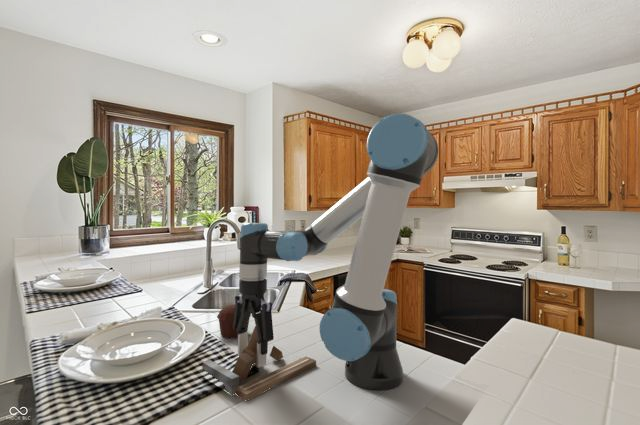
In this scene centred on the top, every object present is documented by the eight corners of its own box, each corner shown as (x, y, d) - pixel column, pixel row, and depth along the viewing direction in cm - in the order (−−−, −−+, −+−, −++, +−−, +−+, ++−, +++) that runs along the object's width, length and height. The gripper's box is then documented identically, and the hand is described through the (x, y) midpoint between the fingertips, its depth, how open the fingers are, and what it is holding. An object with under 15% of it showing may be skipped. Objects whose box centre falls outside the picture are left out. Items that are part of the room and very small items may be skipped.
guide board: (316, 365, 92) (316, 351, 92) (242, 403, 73) (242, 385, 73) (275, 349, 103) (275, 336, 103) (202, 377, 84) (202, 362, 84)
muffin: (254, 329, 121) (255, 302, 121) (245, 340, 110) (245, 310, 110) (223, 327, 122) (224, 301, 122) (211, 338, 111) (211, 309, 111)
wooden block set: (242, 394, 80) (256, 359, 79) (217, 373, 84) (229, 339, 82) (281, 362, 97) (293, 332, 95) (258, 345, 100) (269, 317, 98)
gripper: (288, 281, 87) (287, 368, 87) (242, 272, 101) (240, 346, 100) (266, 285, 81) (265, 378, 81) (220, 275, 95) (219, 354, 95)
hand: (251, 360), depth 91 cm, fingers closed on wooden block set, 8 cm apart
